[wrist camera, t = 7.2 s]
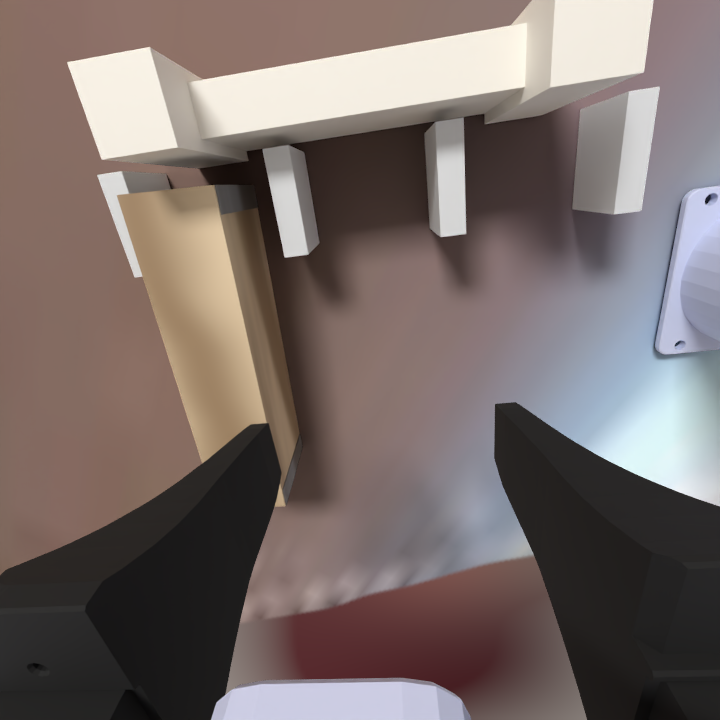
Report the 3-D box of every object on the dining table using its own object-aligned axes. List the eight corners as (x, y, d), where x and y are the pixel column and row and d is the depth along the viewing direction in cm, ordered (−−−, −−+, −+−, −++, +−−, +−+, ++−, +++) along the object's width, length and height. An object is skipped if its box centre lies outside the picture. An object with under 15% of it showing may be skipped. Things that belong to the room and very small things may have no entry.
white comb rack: (612, 35, 16) (777, -70, 9) (594, 206, 18) (713, 217, 12) (126, 117, 17) (-19, 78, 11) (173, 262, 20) (77, 299, 14)
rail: (254, 184, 18) (214, 184, 14) (303, 446, 24) (286, 506, 20) (179, 192, 19) (115, 195, 14) (245, 449, 25) (215, 509, 20)
